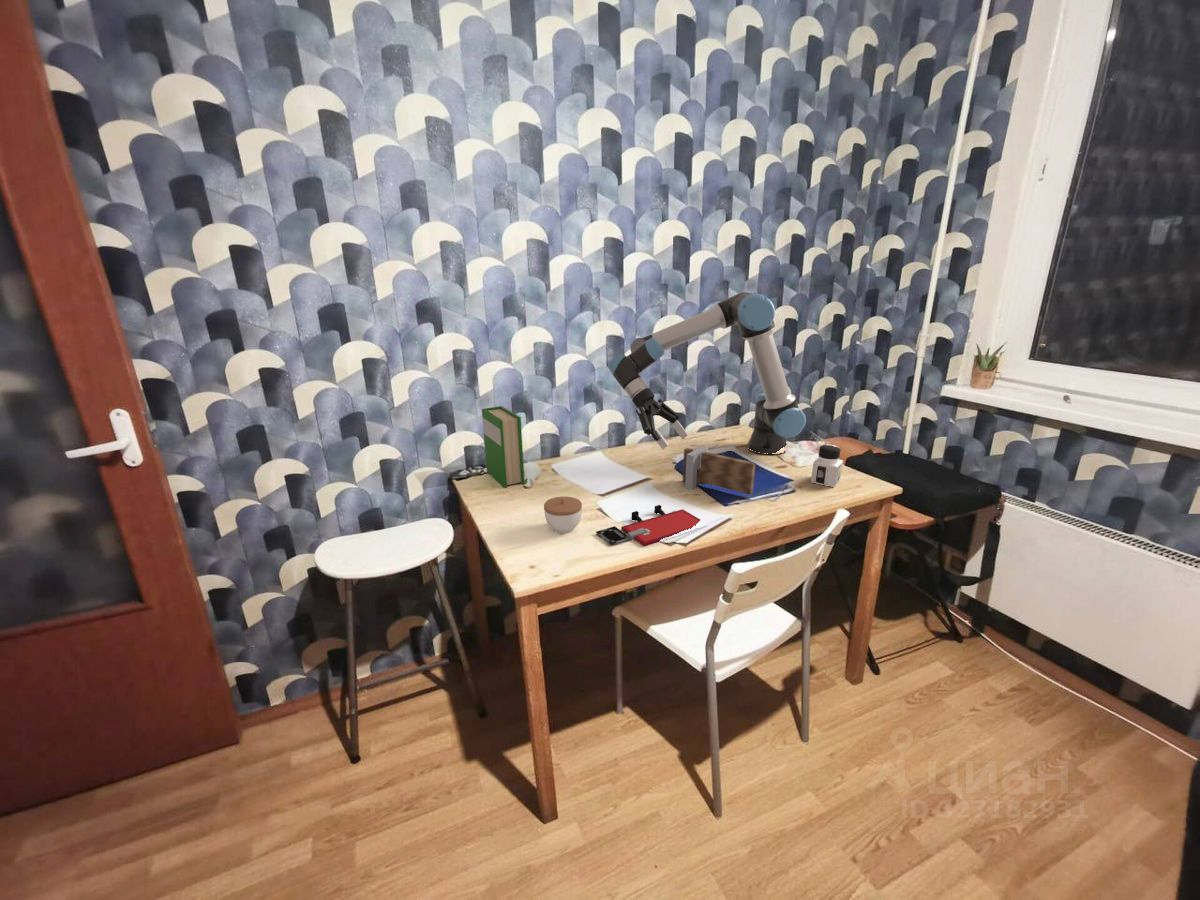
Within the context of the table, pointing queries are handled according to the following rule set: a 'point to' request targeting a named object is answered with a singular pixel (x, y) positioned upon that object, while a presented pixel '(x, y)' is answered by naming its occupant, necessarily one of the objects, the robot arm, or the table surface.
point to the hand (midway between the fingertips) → (675, 442)
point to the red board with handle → (651, 527)
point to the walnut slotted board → (724, 472)
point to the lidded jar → (563, 513)
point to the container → (827, 466)
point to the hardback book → (503, 445)
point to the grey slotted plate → (693, 467)
